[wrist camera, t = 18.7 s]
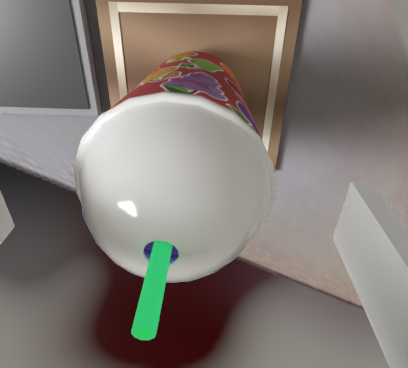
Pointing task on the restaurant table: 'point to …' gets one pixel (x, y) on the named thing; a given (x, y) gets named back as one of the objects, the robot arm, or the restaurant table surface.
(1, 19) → the ink pad
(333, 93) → the restaurant table surface
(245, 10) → the board
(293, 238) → the restaurant table surface
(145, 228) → the smoothie
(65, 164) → the restaurant table surface
